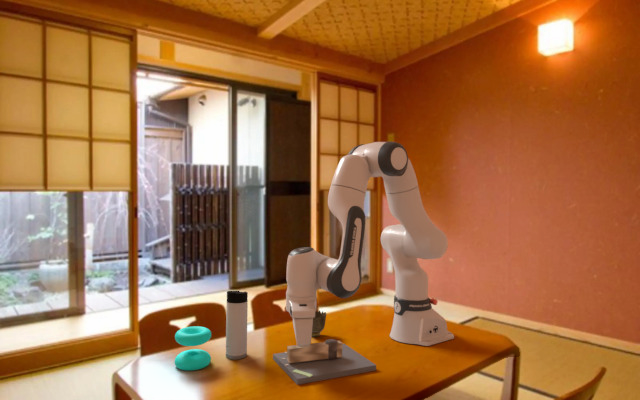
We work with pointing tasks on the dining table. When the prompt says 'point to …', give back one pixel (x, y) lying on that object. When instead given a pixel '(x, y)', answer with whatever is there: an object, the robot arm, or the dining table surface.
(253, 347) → the dining table surface
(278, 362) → the dial board
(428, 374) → the dining table surface
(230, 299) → the travel mug
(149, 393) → the dining table surface
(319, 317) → the cup
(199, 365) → the donuts
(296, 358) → the long tan beam
